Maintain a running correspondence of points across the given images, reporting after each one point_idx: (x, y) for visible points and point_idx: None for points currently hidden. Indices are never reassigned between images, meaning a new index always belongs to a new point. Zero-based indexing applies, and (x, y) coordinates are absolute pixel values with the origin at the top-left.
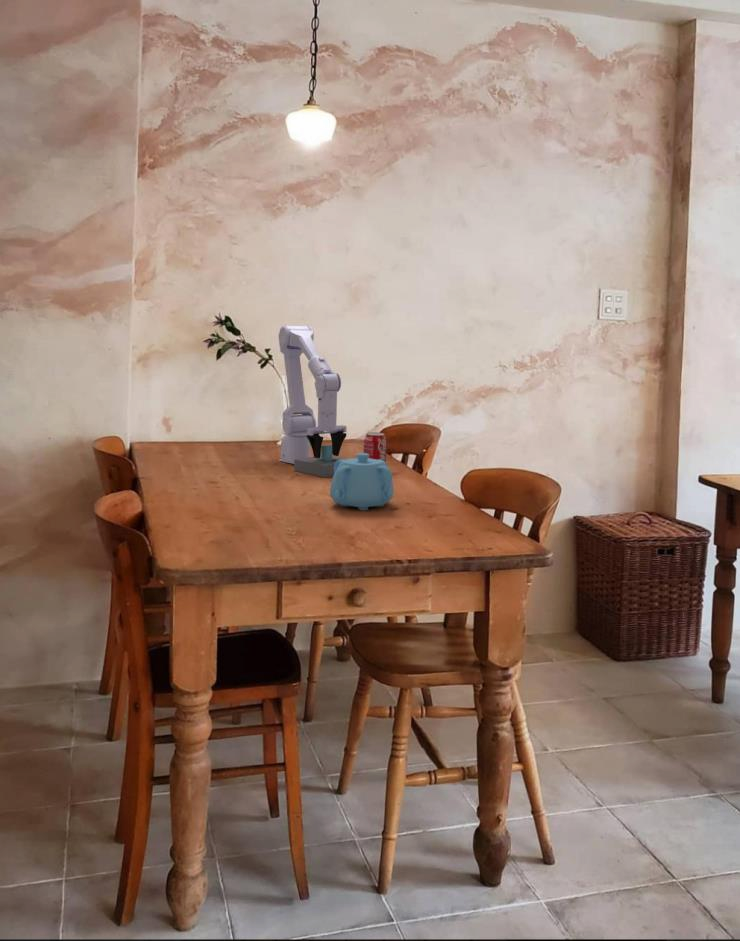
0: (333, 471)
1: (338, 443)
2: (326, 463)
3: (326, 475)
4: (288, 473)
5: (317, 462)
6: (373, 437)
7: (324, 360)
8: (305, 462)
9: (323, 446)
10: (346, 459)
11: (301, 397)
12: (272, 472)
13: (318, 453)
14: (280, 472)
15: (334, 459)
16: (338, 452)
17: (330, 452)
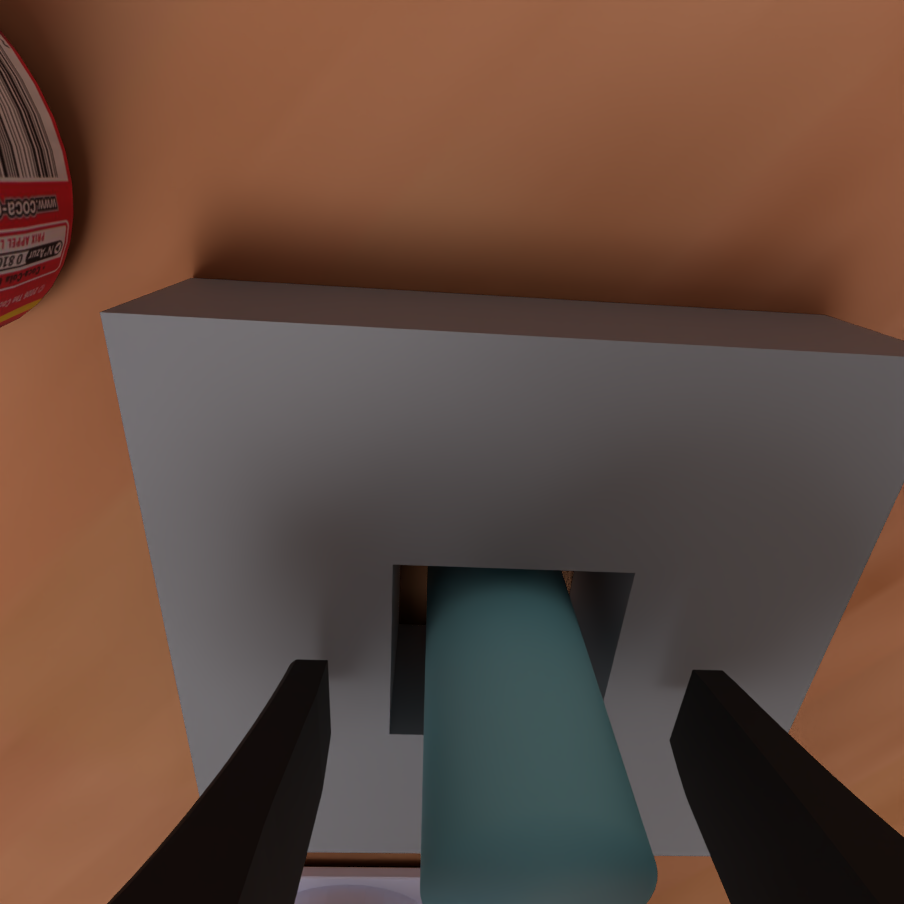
0: (691, 319)
1: (251, 891)
2: (747, 479)
3: (801, 316)
4: (826, 689)
5: (753, 608)
6: None
7: None
8: (787, 711)
9: (627, 891)
10: (205, 544)
11: None
12: (863, 776)
13: (786, 734)
14: (824, 748)
15: (369, 636)
16: (295, 699)
17: (531, 702)
